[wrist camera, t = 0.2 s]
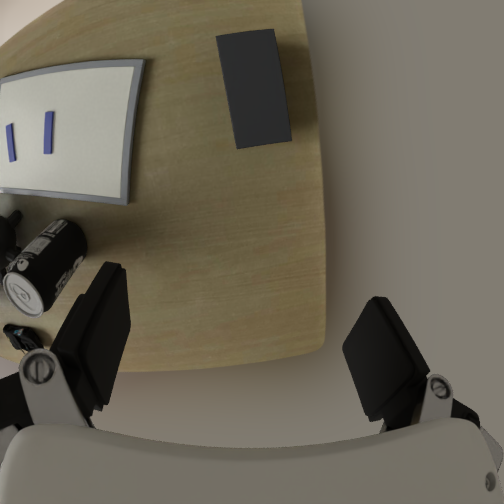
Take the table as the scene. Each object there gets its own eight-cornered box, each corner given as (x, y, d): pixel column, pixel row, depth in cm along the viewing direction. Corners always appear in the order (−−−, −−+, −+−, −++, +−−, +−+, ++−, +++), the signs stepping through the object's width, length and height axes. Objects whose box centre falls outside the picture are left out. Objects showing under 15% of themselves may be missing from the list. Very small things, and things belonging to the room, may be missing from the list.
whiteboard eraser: (218, 48, 21) (215, 36, 16) (265, 42, 21) (273, 28, 16) (235, 140, 26) (236, 149, 21) (280, 133, 26) (292, 141, 21)
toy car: (2, 324, 38) (-6, 337, 34) (24, 314, 36) (14, 329, 33) (26, 351, 42) (19, 364, 39) (51, 344, 41) (44, 360, 37)
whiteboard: (2, 78, 17) (-2, 79, 16) (146, 60, 21) (143, 59, 20) (0, 190, 25) (-3, 192, 24) (129, 203, 28) (126, 206, 28)
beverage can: (82, 268, 32) (43, 330, 22) (46, 244, 30) (0, 299, 20) (96, 233, 30) (49, 294, 20) (56, 207, 27) (0, 258, 17)
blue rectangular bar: (46, 111, 21) (45, 112, 20) (53, 111, 21) (52, 111, 21) (44, 153, 23) (43, 154, 23) (52, 153, 23) (50, 154, 23)
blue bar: (6, 125, 20) (5, 125, 20) (12, 123, 20) (10, 123, 20) (10, 162, 23) (9, 162, 22) (16, 160, 23) (14, 161, 22)
